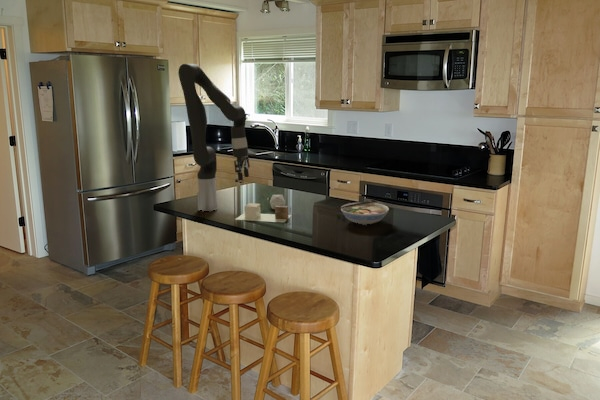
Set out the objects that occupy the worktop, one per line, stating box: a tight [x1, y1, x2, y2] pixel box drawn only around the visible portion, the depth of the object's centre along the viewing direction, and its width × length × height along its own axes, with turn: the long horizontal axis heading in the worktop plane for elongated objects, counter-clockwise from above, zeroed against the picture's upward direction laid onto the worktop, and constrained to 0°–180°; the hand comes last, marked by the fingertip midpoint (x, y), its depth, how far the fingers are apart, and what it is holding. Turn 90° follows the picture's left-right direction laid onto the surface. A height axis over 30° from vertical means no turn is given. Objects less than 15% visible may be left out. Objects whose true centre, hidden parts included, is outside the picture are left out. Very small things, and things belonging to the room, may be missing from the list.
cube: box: [244, 202, 262, 219], centre depth 256 cm, size 6×6×6 cm
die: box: [269, 194, 286, 210], centre depth 272 cm, size 8×9×10 cm
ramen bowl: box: [334, 199, 390, 226], centre depth 245 cm, size 25×23×8 cm
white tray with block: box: [234, 205, 292, 223], centre depth 255 cm, size 25×13×7 cm, turn 75°
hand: (243, 178), depth 263 cm, fingers open, 8 cm apart
